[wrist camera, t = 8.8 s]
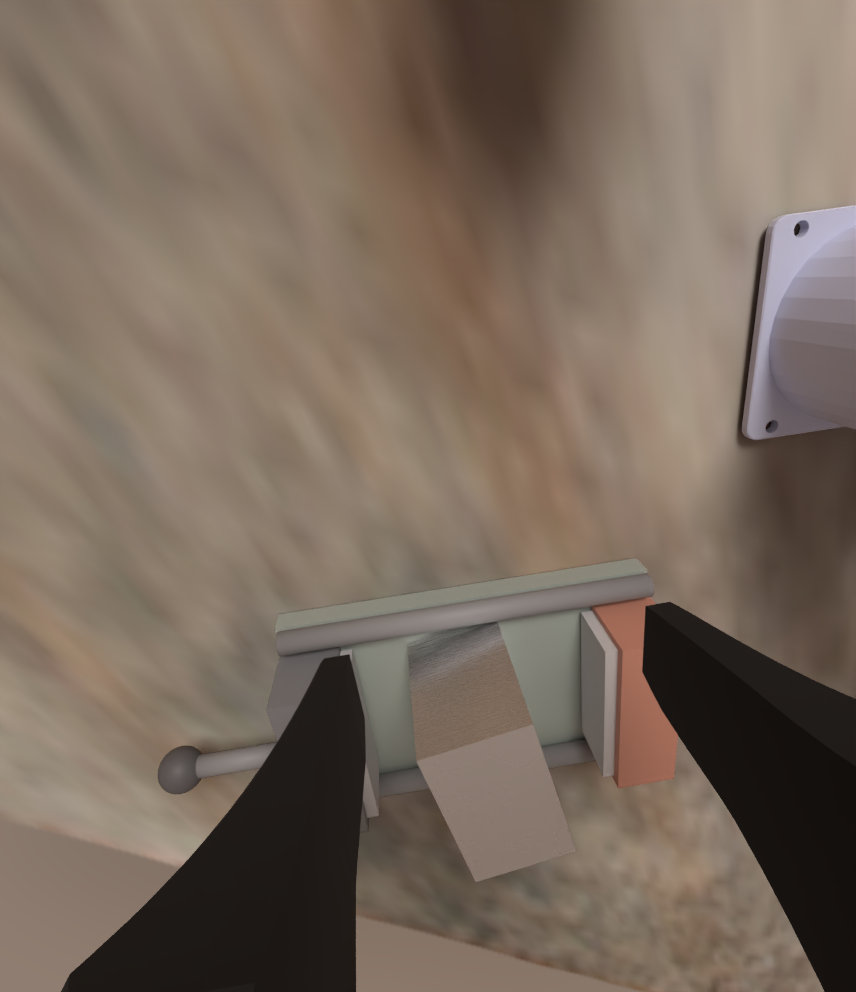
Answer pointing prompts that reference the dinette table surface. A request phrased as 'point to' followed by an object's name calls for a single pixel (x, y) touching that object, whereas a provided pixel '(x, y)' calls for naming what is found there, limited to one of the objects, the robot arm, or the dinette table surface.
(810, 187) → the dinette table surface
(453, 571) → the dinette table surface
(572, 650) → the vise base
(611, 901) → the dinette table surface
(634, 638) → the block
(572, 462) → the dinette table surface
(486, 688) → the aluminium block
